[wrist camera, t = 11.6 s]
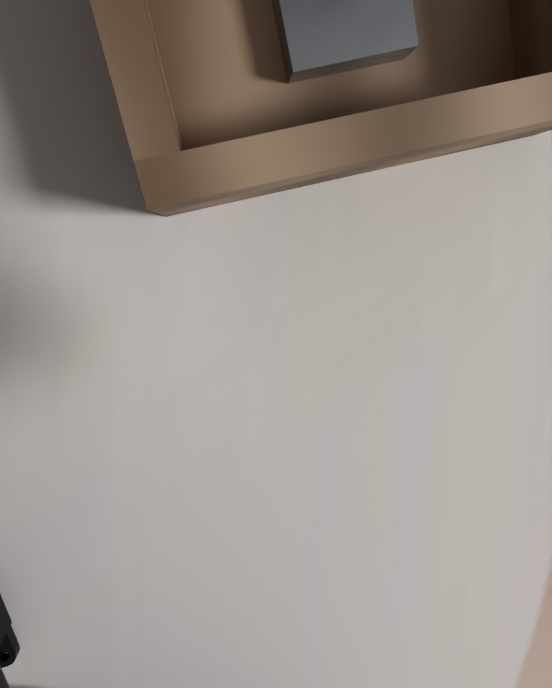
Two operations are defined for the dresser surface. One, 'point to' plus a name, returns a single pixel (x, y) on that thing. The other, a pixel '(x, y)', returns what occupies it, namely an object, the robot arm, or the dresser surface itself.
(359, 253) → the dresser surface
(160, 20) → the open wooden box
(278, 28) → the grey block
